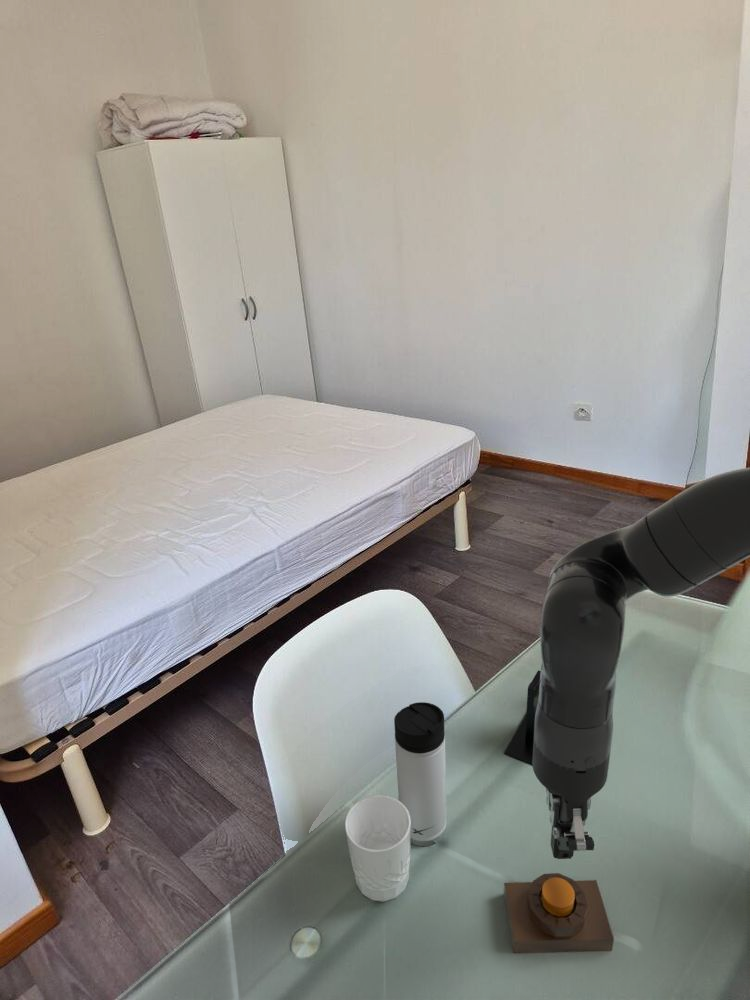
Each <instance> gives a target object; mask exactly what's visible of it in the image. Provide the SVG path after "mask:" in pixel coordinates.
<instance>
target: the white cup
mask: <svg viewBox="0 0 750 1000" xmlns="http://www.w3.org/2000/svg"><path fill="white" fill-rule="evenodd" d="M344 820H345V821H344V829H345V835H346V840H347V846H348V853H349V856H350V861H351V862H350V863H351V866H352V870H353V873H354V878H355V884H356V886H357V888H358V889H359V891H360V892H361V895H363V896H365V897H367V898H368V899H370V900H371V901H376V902H382V903H383V902H384V903H385V902H388V901H390V900H394V899H396V898H398V897H399V896H400V895H401V894H402V893H403V892H404V891H405V890H406V888H407V885H408V882H409V880H410V863H411V842H410V838H411V819H410V815H409V812H408V810H407V809H406V807H405V806H404V805H403V804H402V803H401V802H400V801H399V799H396V798H395V797H392V796H390V795H385V794H375V795H370V796H366V797H363V798H361V799H360V800H358V801H357V802H355V803H354V804H353V805H352V806H351V807H350V808H349V810H348V811H347V814H346V817H345V819H344Z"/></svg>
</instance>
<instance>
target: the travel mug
mask: <svg viewBox="0 0 750 1000" xmlns="http://www.w3.org/2000/svg"><path fill="white" fill-rule="evenodd" d="M393 721H394V722H393V723H394V746H395V747H394V748H395V762H396V764H395V765H396V778H397V780H396V781H397V794H398V796H397V797H398V801H400V802H401V803H402V804H403V805H404V806H405V807H406V809H407V810H408V812H409V815H410V819H411V838H410V844H412V845H415V846H419V847H430V846H433V845H436V842H435V841H437V840H438V839H440V838H441V837H442V836H443V835H444V833H445V831H446V829H447V824H448V818H447V817H448V816H447V815H448V813H447V769H446V768H447V767H446V766H447V765H446V764H447V763H446V762H447V761H446V732H445V714H444V712H443V710H442V709H441V708H440V707H439V706H438V705H436V704H434V703H431V702H425V701H424V702H422V701H421V702H413V703H410V704H409V705H408V706H405V707H403V708H401V709H400V710H399V711H398V712H396V714H395V715H394V719H393Z"/></svg>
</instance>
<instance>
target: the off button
mask: <svg viewBox="0 0 750 1000" xmlns="http://www.w3.org/2000/svg"><path fill="white" fill-rule="evenodd" d="M574 899H575V893H574V890H573V888H572V886H571V885H570V884H569V883H568V882H567V881H566V880H564V879H561V878H550V879H548V880H546V881H545V883H544V884H543V887H542V897H541V900H542V904H543V906H544V908H545V909H546V910H547V911H548V912H549V913H550V914H552V915H554V916H557V917H564V916H567V915H569V914H570V913H571V912H572V910H573V908H574Z"/></svg>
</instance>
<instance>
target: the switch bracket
mask: <svg viewBox="0 0 750 1000" xmlns="http://www.w3.org/2000/svg"><path fill="white" fill-rule="evenodd" d="M540 672H541V670H537V671H536V673H535V675H534V676H533V678H532V680H531V681H530V682H529V684H528V685H527V694H526V695H527V696H526V713H525V715H524V717H523V718H522V719H521V722H520V724H519V725H518V727H517V729H516V731H515V732H514V734H513V736H512V738H511V739H510V742H509V743H508V745H507V747H506V748H505V750H504V752H503V754H504V755H505V756H507V757H510V758H513V759H515V760H518V761H521V762H523V763H526V764H528V765H531V766H533V765H532V760H533V742H534V726H535V714H536V708H537V705H538V696H539V687H540Z"/></svg>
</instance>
